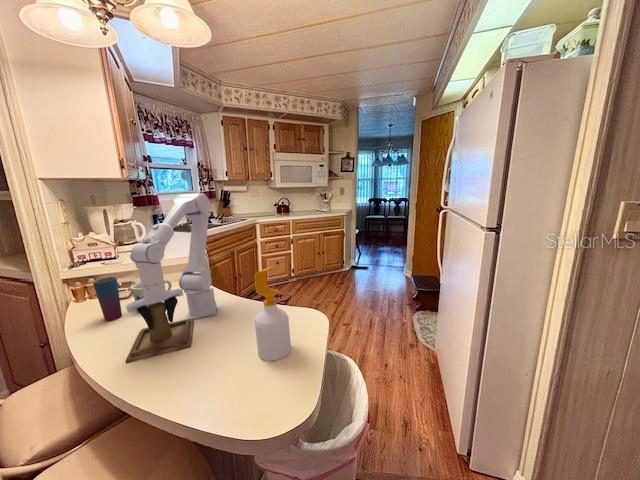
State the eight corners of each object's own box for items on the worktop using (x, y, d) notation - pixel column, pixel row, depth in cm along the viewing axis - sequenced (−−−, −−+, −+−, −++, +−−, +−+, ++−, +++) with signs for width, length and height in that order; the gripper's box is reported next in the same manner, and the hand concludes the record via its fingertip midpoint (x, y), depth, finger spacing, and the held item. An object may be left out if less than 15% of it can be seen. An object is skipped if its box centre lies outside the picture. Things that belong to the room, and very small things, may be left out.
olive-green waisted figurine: (175, 330, 86) (171, 298, 83) (166, 341, 80) (161, 307, 77) (156, 331, 85) (151, 299, 83) (145, 342, 79) (139, 308, 77)
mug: (129, 310, 104) (124, 286, 102) (166, 295, 116) (162, 274, 114) (144, 315, 99) (139, 290, 97) (181, 299, 111) (177, 277, 109)
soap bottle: (276, 365, 68) (267, 275, 63) (251, 355, 73) (241, 270, 67) (297, 347, 75) (291, 264, 70) (273, 338, 80) (265, 260, 75)
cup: (112, 323, 94) (103, 283, 91) (97, 321, 96) (87, 282, 93) (129, 313, 101) (121, 276, 98) (114, 312, 102) (106, 276, 99)
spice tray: (193, 322, 92) (192, 316, 92) (190, 347, 78) (189, 340, 77) (140, 333, 86) (138, 328, 86) (126, 363, 72) (124, 356, 71)
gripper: (174, 273, 86) (181, 311, 89) (120, 287, 76) (129, 330, 78) (182, 277, 81) (189, 318, 84) (125, 293, 71) (135, 339, 74)
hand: (161, 324), depth 81 cm, fingers closed on olive-green waisted figurine, 5 cm apart
